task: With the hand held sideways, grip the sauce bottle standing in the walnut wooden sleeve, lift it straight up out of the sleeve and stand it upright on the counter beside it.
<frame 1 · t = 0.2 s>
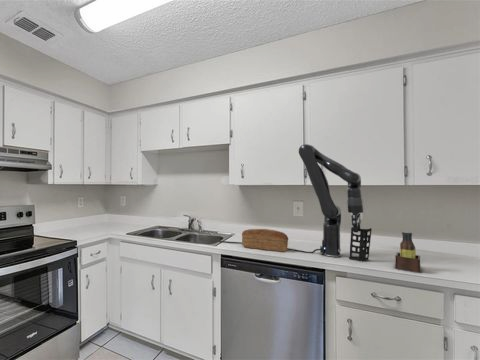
hand: (357, 231, 161), 17 cm above the countertop, tool pointing down, fingers open, 8 cm apart
wooden sleeve: (407, 268, 145), on the countertop
bread: (264, 248, 187), on the countertop
holder: (360, 260, 160), on the countertop
sauce bottle: (407, 268, 145), resting in wooden sleeve
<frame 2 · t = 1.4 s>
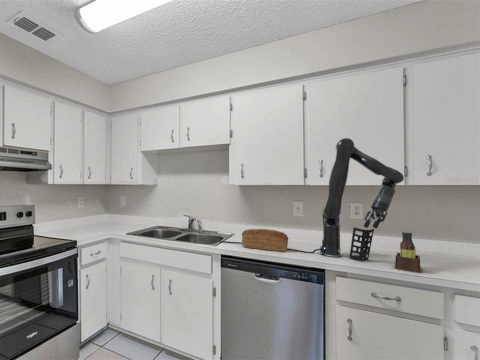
hand: (369, 227, 154), 21 cm above the countertop, tool tilted 30°, fingers open, 8 cm apart
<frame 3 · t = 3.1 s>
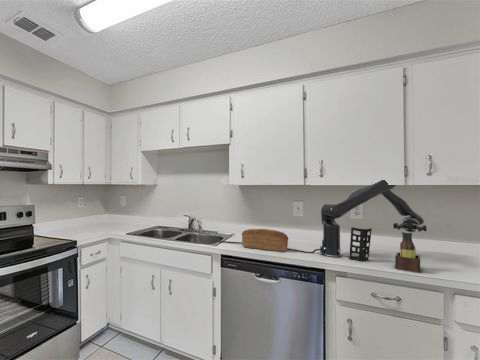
hand: (408, 228, 152), 21 cm above the countertop, tool horizontal, fingers open, 8 cm apart
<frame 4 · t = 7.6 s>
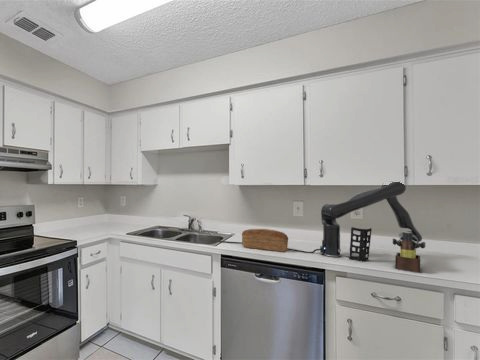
hand: (407, 245, 143), 13 cm above the countertop, tool horizontal, fingers closed on sauce bottle, 6 cm apart
sauce bottle: (407, 268, 145), resting in wooden sleeve, touching gripper
everything else where it was.
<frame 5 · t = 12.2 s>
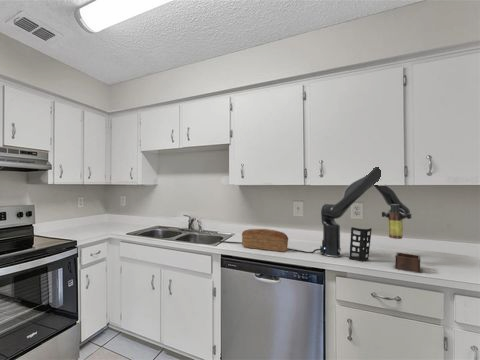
hand: (394, 216, 153), 28 cm above the countertop, tool horizontal, fingers closed on sauce bottle, 6 cm apart
sauce bottle: (395, 238, 155), point 14 cm above the countertop, touching gripper
everything else where it was.
when the fingers open (13 cm above the countertop, at t = 17.1 s): sauce bottle stays where it is, on the countertop.
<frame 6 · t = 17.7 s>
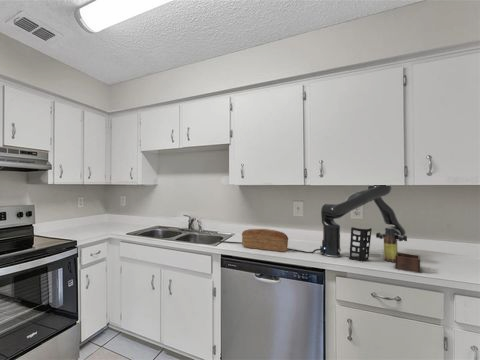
hand: (390, 238, 158), 14 cm above the countertop, tool horizontal, fingers open, 8 cm apart
sauce bottle: (390, 261, 159), on the countertop
everything else where it was.
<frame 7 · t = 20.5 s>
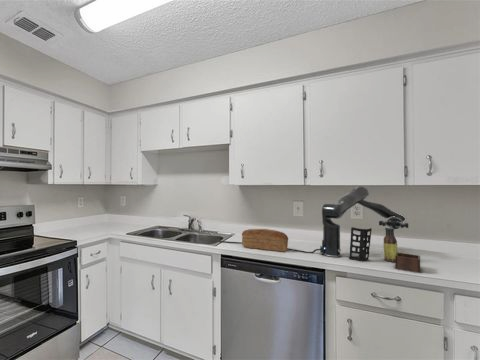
hand: (392, 225, 166), 20 cm above the countertop, tool horizontal, fingers open, 8 cm apart
nothing on the countertop moved.
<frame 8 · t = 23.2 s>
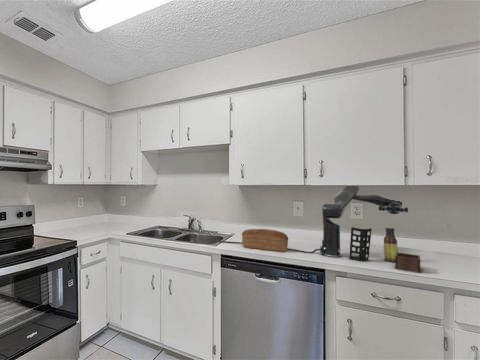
hand: (392, 209, 167), 30 cm above the countertop, tool horizontal, fingers open, 8 cm apart
nothing on the countertop moved.
at the end: sauce bottle inside the target area (0.1 cm from its centre), on the countertop; sauce bottle tilted 1°; sauce bottle touching countertop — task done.
